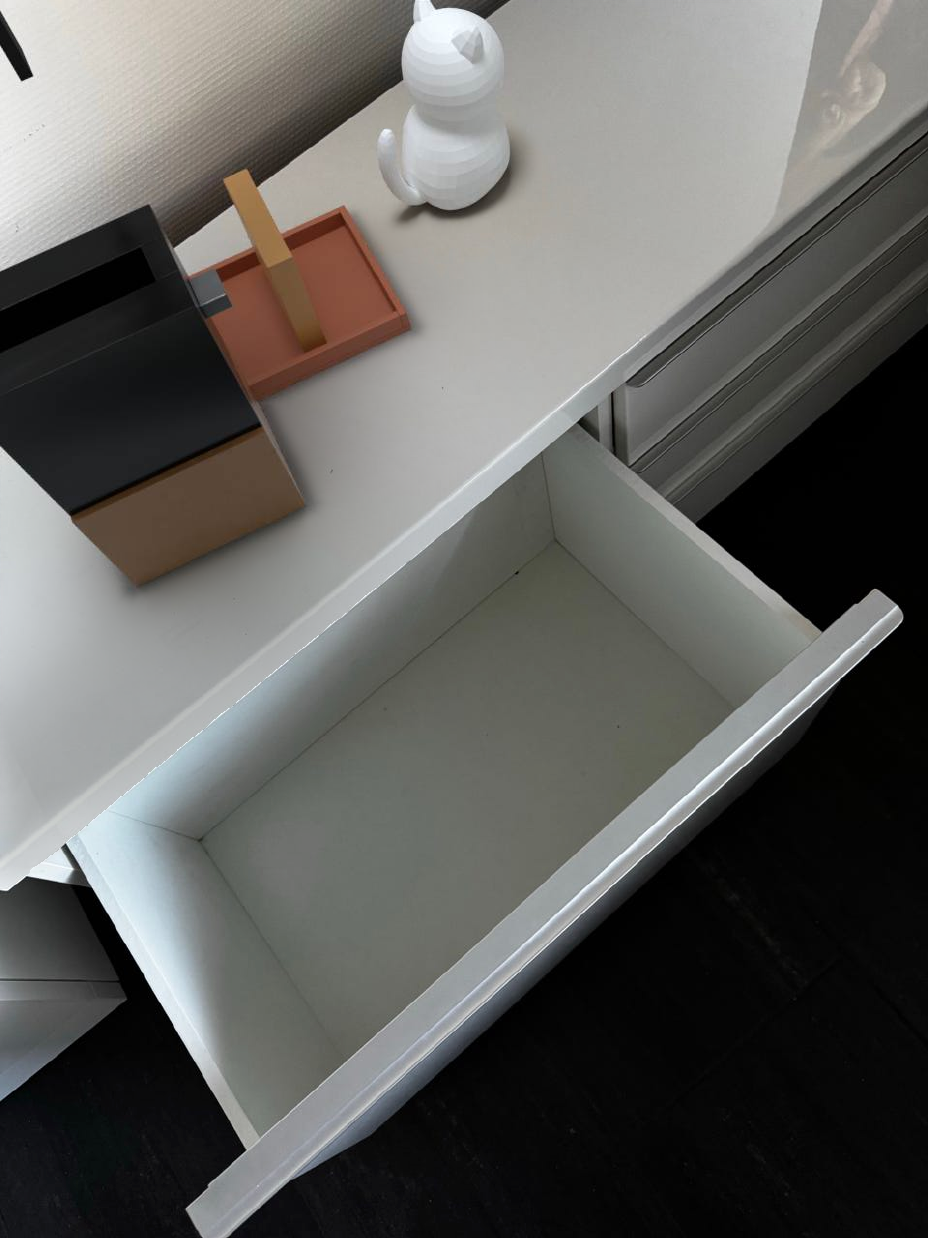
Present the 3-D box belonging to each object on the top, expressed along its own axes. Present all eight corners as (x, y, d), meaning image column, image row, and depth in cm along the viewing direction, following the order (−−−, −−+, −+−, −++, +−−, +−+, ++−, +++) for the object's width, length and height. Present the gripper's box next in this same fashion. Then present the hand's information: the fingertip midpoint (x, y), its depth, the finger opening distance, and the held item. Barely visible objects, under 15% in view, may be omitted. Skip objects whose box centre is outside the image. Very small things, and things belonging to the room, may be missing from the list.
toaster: (136, 587, 77) (-33, 418, 57) (99, 485, 81) (-70, 295, 61) (328, 495, 78) (228, 298, 58) (282, 400, 82) (173, 184, 62)
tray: (239, 410, 82) (230, 394, 80) (188, 297, 88) (178, 280, 86) (411, 329, 83) (406, 312, 81) (350, 222, 88) (344, 204, 86)
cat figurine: (542, 168, 88) (528, 3, 74) (433, 255, 86) (398, 102, 72) (472, 119, 91) (447, -47, 78) (366, 201, 89) (320, 45, 75)
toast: (263, 271, 87) (222, 178, 78) (285, 261, 87) (246, 167, 78) (305, 355, 83) (267, 267, 73) (328, 345, 83) (292, 256, 74)
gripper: (-399, -332, 38) (-58, 145, 57) (226, -577, 39) (352, -33, 58) (-413, -412, 41) (-85, 66, 60) (167, -636, 42) (305, -101, 62)
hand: (131, 18), depth 59 cm, fingers open, 13 cm apart
